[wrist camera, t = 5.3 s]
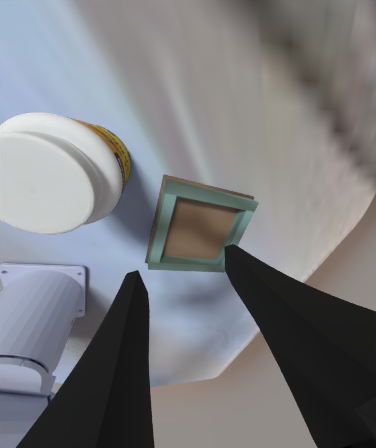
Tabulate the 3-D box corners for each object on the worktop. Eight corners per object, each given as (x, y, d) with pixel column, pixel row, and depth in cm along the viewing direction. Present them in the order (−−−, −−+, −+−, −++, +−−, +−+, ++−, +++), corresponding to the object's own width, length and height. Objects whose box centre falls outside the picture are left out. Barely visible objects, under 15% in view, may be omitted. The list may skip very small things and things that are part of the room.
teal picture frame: (220, 265, 26) (225, 273, 24) (145, 261, 21) (145, 271, 20) (253, 196, 21) (261, 201, 19) (163, 174, 17) (165, 178, 15)
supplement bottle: (141, 177, 16) (138, 224, 8) (89, 196, 16) (25, 268, 7) (112, 115, 13) (53, 73, 5) (48, 136, 13) (-145, 136, 4)
